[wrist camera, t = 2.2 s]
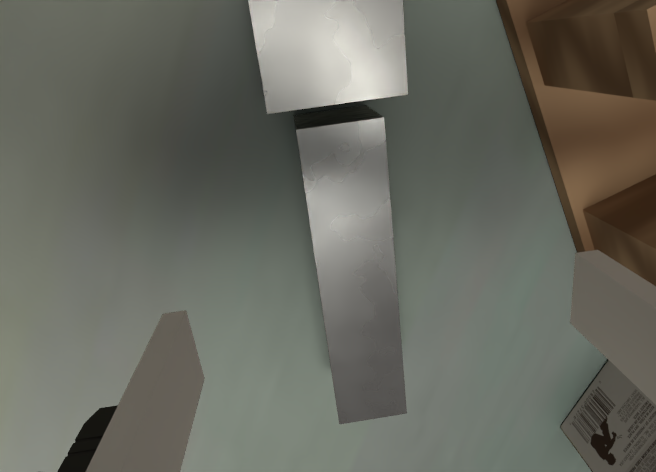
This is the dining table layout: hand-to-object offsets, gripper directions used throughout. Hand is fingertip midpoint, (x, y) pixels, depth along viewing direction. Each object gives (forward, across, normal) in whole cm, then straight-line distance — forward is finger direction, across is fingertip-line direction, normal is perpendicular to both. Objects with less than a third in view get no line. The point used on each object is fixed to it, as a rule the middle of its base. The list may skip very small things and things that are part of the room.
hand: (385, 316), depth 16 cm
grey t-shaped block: (+10, 0, +1) cm, 10 cm away
